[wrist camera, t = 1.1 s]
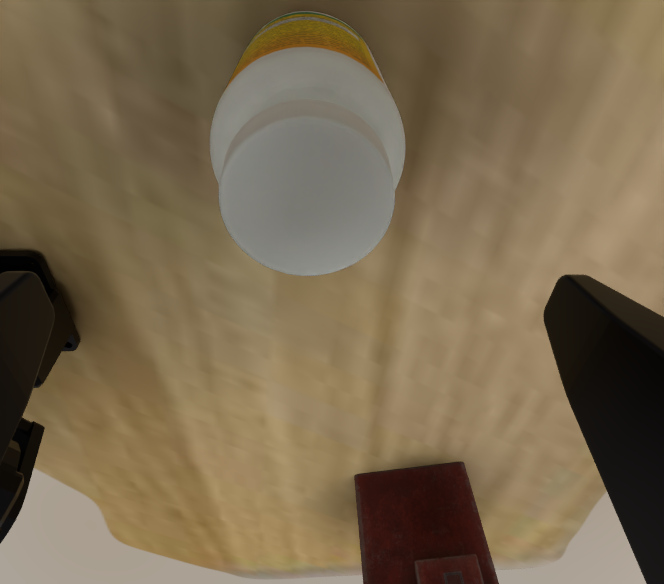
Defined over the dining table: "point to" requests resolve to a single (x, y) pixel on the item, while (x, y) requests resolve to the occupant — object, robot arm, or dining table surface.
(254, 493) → the dining table surface
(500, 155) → the dining table surface
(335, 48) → the supplement bottle
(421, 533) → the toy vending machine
